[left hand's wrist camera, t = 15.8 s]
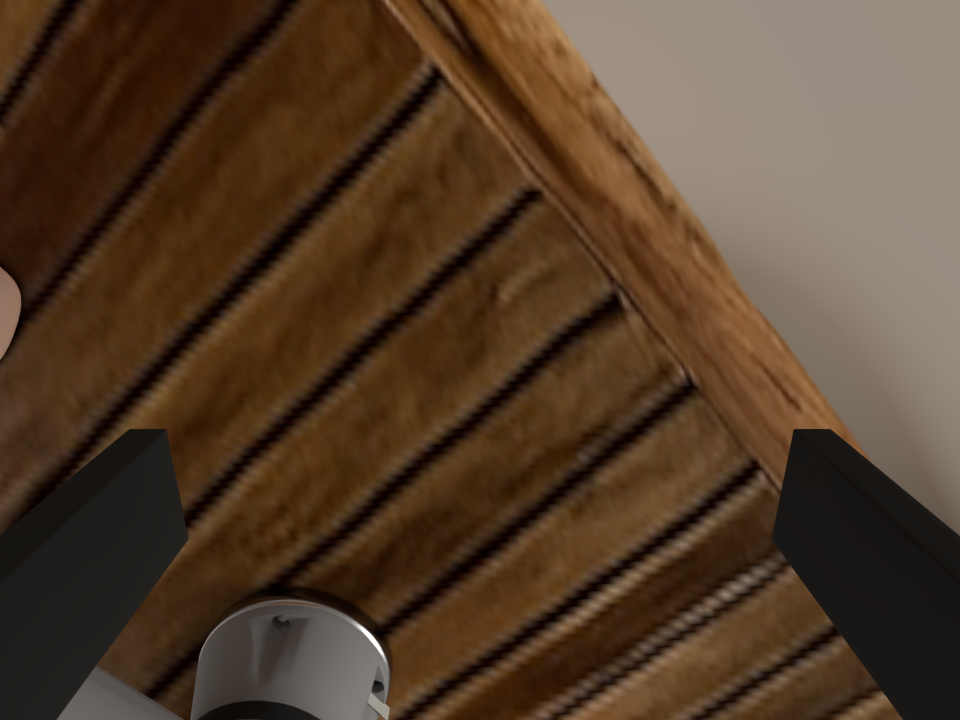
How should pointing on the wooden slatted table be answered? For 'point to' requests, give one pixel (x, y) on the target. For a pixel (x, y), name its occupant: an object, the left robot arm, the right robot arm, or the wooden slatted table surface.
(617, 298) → the wooden slatted table surface
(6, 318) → the anatomical model
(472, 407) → the wooden slatted table surface
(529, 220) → the wooden slatted table surface
